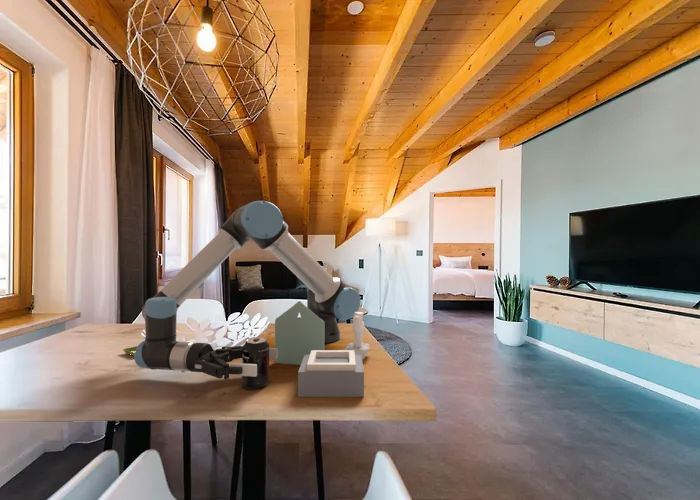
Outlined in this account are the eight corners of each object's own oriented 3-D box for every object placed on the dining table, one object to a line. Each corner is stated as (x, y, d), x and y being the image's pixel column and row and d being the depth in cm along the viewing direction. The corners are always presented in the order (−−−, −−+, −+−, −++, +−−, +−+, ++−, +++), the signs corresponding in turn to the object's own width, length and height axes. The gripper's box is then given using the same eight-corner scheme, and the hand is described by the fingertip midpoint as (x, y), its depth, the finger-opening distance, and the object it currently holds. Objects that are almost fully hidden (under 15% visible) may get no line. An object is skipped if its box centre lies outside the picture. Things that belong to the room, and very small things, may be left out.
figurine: (371, 353, 117) (371, 310, 117) (366, 362, 108) (367, 315, 108) (351, 352, 118) (351, 309, 118) (344, 360, 109) (344, 314, 109)
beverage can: (271, 380, 92) (271, 336, 92) (266, 390, 85) (266, 343, 85) (245, 380, 92) (245, 336, 92) (238, 391, 85) (239, 343, 85)
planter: (330, 359, 111) (331, 298, 111) (324, 367, 103) (324, 302, 103) (284, 355, 114) (284, 297, 114) (274, 363, 106) (274, 300, 107)
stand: (304, 375, 96) (304, 349, 96) (361, 375, 96) (361, 349, 96) (297, 396, 82) (298, 365, 82) (363, 396, 82) (364, 365, 82)
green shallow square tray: (162, 353, 117) (162, 347, 117) (134, 359, 110) (135, 353, 110) (148, 349, 122) (149, 343, 122) (122, 355, 114) (122, 349, 114)
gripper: (218, 356, 104) (284, 360, 100) (160, 389, 79) (245, 395, 76) (218, 332, 104) (284, 335, 100) (160, 357, 79) (245, 362, 76)
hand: (267, 361), depth 88 cm, fingers open, 13 cm apart
